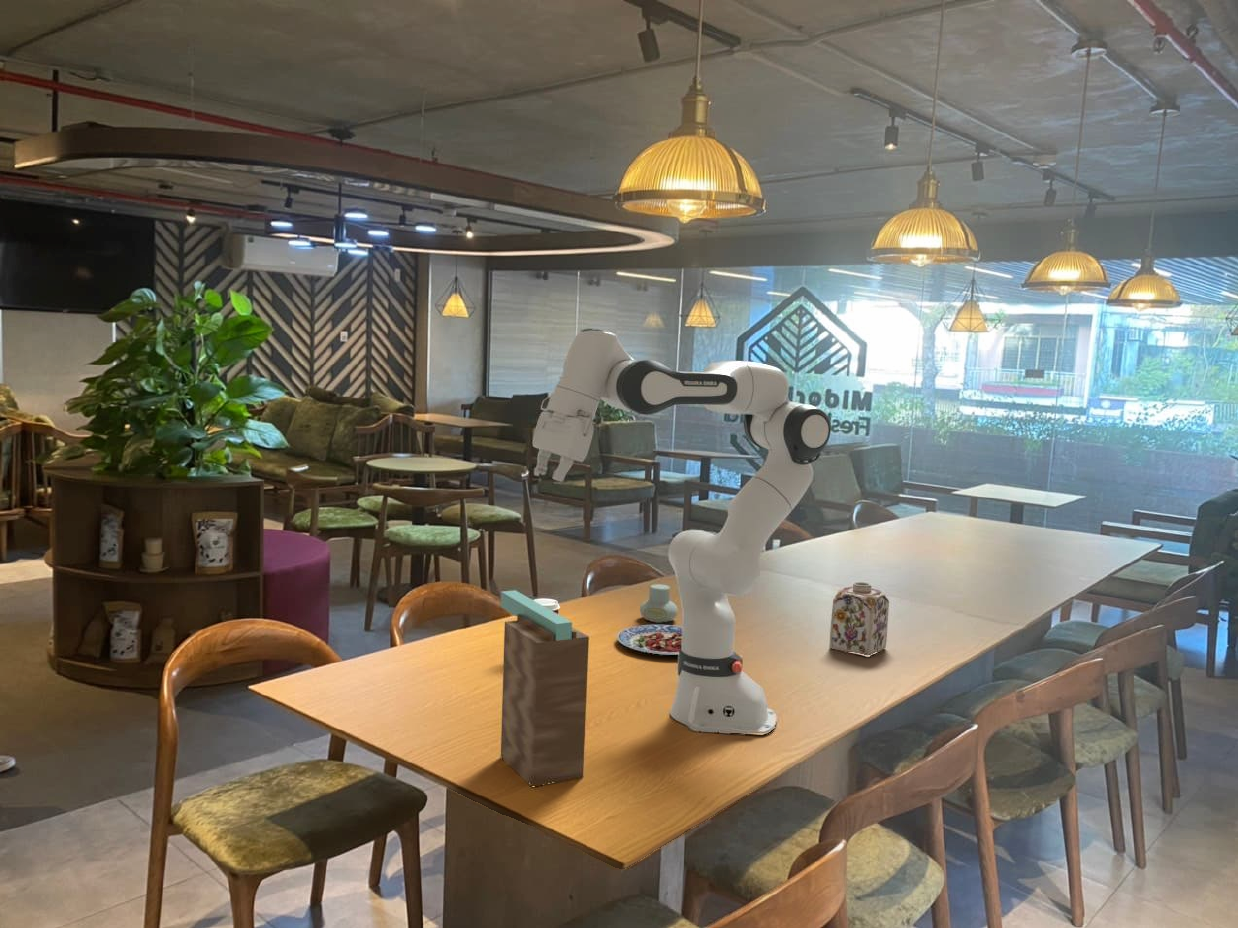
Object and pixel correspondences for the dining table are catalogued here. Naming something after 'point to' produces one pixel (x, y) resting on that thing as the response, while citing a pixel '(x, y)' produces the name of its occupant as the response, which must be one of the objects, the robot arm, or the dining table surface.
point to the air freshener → (659, 605)
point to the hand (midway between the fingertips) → (548, 477)
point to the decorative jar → (859, 620)
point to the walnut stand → (543, 702)
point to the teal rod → (537, 614)
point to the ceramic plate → (653, 639)
